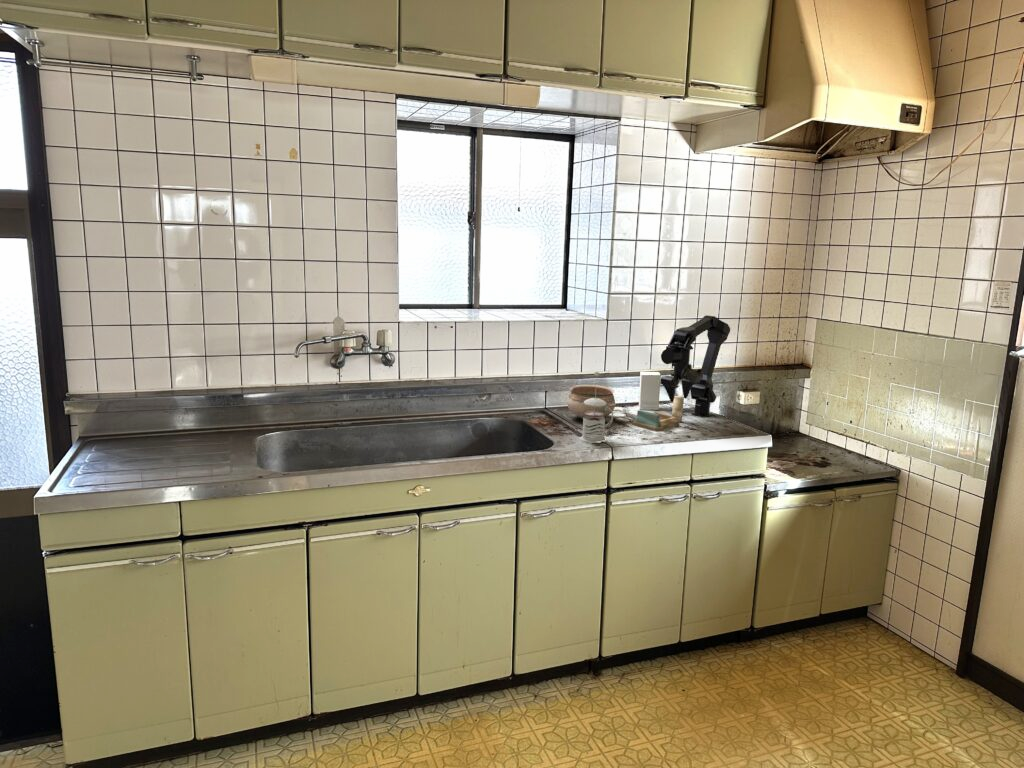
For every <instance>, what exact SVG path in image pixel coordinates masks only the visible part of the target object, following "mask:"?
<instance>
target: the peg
mask: <svg viewBox="0 0 1024 768" xmlns="http://www.w3.org/2000/svg"><path fill="white" fill-rule="evenodd" d="M684 400H685V398H684V396H682V395H681V396H680V395H675V396H674V401H673V402H672V412H671V416H674V417H677V421H678V422H679V424H681V423H683V413H684Z"/></svg>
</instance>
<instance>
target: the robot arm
mask: <svg viewBox="0 0 1024 768" xmlns="http://www.w3.org/2000/svg"><path fill="white" fill-rule="evenodd" d="M704 332H707V333H706V335H707V339H708V343H707V344H708V345H707V348H706V352H705V355H704V358H703V362H702V364H701V365H702V366H701V368H697V370H696V369H693V368H692V366H693V365H692V364H691V363H690V357H691V351H692V350H694V347H693V346H692V344H693V343H694V342H696V340H697V337H698V336H700V335H701V334H702V333H704ZM730 333H731V327H730V325H729V324H728V323H727V322H725V321H723V320H721V319H719V318H718V317H716V316H714V315H709V314H708V315H704V316H703V317H702V318H701V319H699V320H697V321H695V322H694V323H692V324H691V325H689V326H685V327H683V326H682V327H680V328H677V329H675V330H674V332H673V334H672V336H671V338H670V340H669V342H668V343H667V344H668V345H666V347H665V349H663V351H661V354H660V359H661V361H662V362H663V364H666V365H671V367H673V371H672V373H670V375H666V376H662V377H660V385H662V386H663V387H664V389H665V391H666V394H667V395H668V399H669V401H670V402H672V403H673V401H674V396H676V390H677V389H678V388H679V387H680V386H679V384H680V383H681V387H682V388H681V389H682V395H683V396H682V397H684V399H687V398H688V397H689V394H690V397H691V398H690V399H691V400H695V403H694V411H693V412H691V415H694V416H698V417H703V418H705V417H709V416H713V413H712V412H710V411H711V409H710V408H711V403H714V402H716V399H717V395H716V394H715V392H714V390H713V389H714V383H713V379H712V378H713V373H714V371H715V366H716V364H717V360H718V356H719V353H720V349H721V345H722V344H723V343H725V342H726V341H727V340H728V337H729V334H730Z"/></svg>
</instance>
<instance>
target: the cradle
mask: <svg viewBox="0 0 1024 768" xmlns="http://www.w3.org/2000/svg"><path fill="white" fill-rule="evenodd" d="M636 412H637V413H636V420H635V421H632V424H631V425H632V426H634V427H639V428H642V429H645V430H648V431H649V430H650V431H652V432H658V431H661V430H665V429H669V428H672V427H676V426H679V425H680V423H679V422H678V421H677V417H674V416H672V415H669V414H665V413H662V412H658V411H653V412H650V411H648V410H640V409H639V410H637V411H636Z"/></svg>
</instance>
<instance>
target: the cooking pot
mask: <svg viewBox="0 0 1024 768" xmlns="http://www.w3.org/2000/svg"><path fill="white" fill-rule="evenodd" d="M569 390H570V391H569V392H568V393H567V396H568V397H567V401H566V403H567V407H568V409H569V410H570V412H571V413H572V414H573V415H575V416H576V417H577V418H579V419H580V420H582V421H583V417H584V416H586V415H585V414H584V413H585V412H587V411H594V409H595V412H602V413H604V416H602V417H604V418H606V417H608V416H609V415H612V413H611V410H612V412H613V411H614V410H615V407H617V403H616V401H615V400H616V399H615V396H614V392H615V390H614V389H613V388H612V387H609V386H605V385H598V384H578V385H573V386H570V387H569ZM595 392H596V398H599V399H601V400H604V401H605V402H606V405H605V406H607V407H609V408H610V409H611V410H610V409H608V408H606V407H605V406H601V407H594V406H588V405H585V404H584V401H585V400H587V399H590V398H595ZM605 409H606V411H605ZM590 420H598V421H600V420H599V419H597V418H591V419H590Z"/></svg>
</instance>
